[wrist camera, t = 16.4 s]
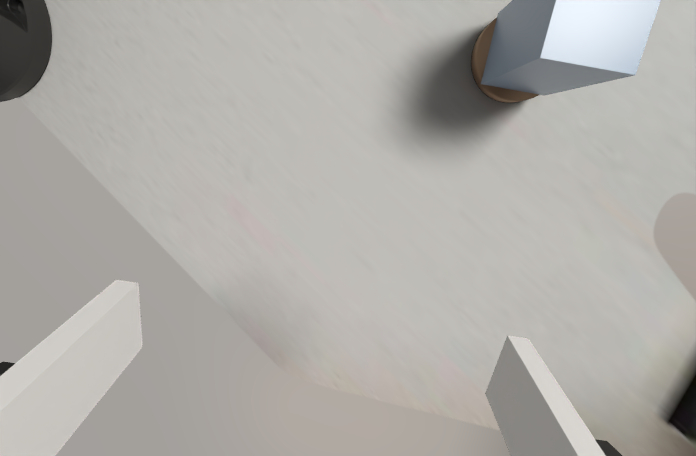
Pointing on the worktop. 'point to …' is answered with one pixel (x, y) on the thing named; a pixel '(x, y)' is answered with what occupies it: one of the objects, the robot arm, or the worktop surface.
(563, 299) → the worktop surface
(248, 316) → the worktop surface
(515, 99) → the post stand
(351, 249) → the worktop surface
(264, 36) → the worktop surface
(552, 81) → the upright blue pillar
